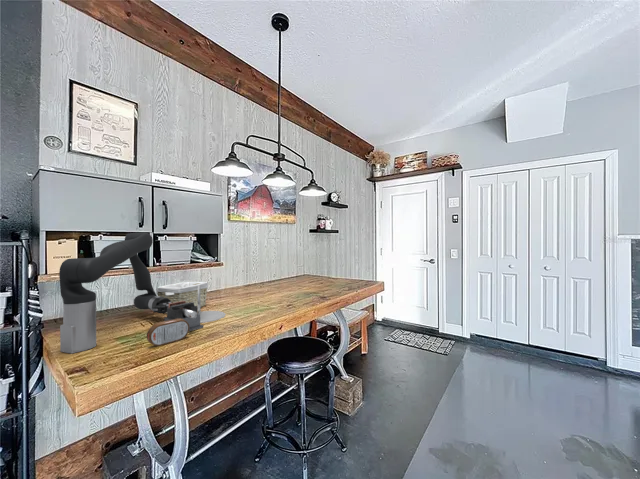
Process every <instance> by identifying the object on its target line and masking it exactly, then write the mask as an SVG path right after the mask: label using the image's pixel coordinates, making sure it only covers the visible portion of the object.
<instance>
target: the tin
mask: <svg viewBox="0 0 640 479" xmlns="http://www.w3.org/2000/svg"><path fill="white" fill-rule="evenodd" d="M189 333H190V331H189V324H188V322H187V321H185V320H184V319H181V318H179V319H174V320H169V321H159V322H156V323H154V324H153V325H152V326H150V328H148V330H147V332H146V340H147V342H148V343H149V344H151V345H153V346H156V347H157V346H158V347H159V346H163V345H167V344H172V343H176V342H178V341H182V340H183V339H185V338H186V337H187V335H188V334H189Z"/></svg>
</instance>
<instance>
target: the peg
mask: <svg viewBox="0 0 640 479" xmlns="http://www.w3.org/2000/svg"><path fill="white" fill-rule="evenodd" d="M184 303H186V301H180V302H174V303H169V307H170V306H173V305H179V304H184ZM181 309H183V316H186V317H189V318H192V319H194V318H196V316H197V312H195V311H192V310H188V309H185V308H181Z"/></svg>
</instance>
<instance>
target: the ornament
mask: <svg viewBox="0 0 640 479" xmlns="http://www.w3.org/2000/svg"><path fill="white" fill-rule="evenodd" d="M201 308H202V307H201V300H200V285H198V308H197V309H198V314H200V324H203V323H205V324H206V323H211V322H215V321H218V320H221V318H222V319H223V318H225V317H226V316H225V315H227V314H226V313H225V312H224V311H219V310H203V311H201Z"/></svg>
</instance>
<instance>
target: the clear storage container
mask: <svg viewBox="0 0 640 479" xmlns="http://www.w3.org/2000/svg"><path fill="white" fill-rule="evenodd" d="M198 285H200V300H201V308H203V307H204V306H205V305H206V300H207V294H208V287H209V284H208V282H207V281H188V280H187V281H182V282H177V283H171V284H170V283H169V284H165V285H160V286H157V288H156V295H157V296H160V297H164V298H168V299H169V300H170V301H171V302H172V303H174V302H180V301H186V303H189V302H194V305H195V306H197V309H198ZM165 314H167V312H166V313H165Z"/></svg>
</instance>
